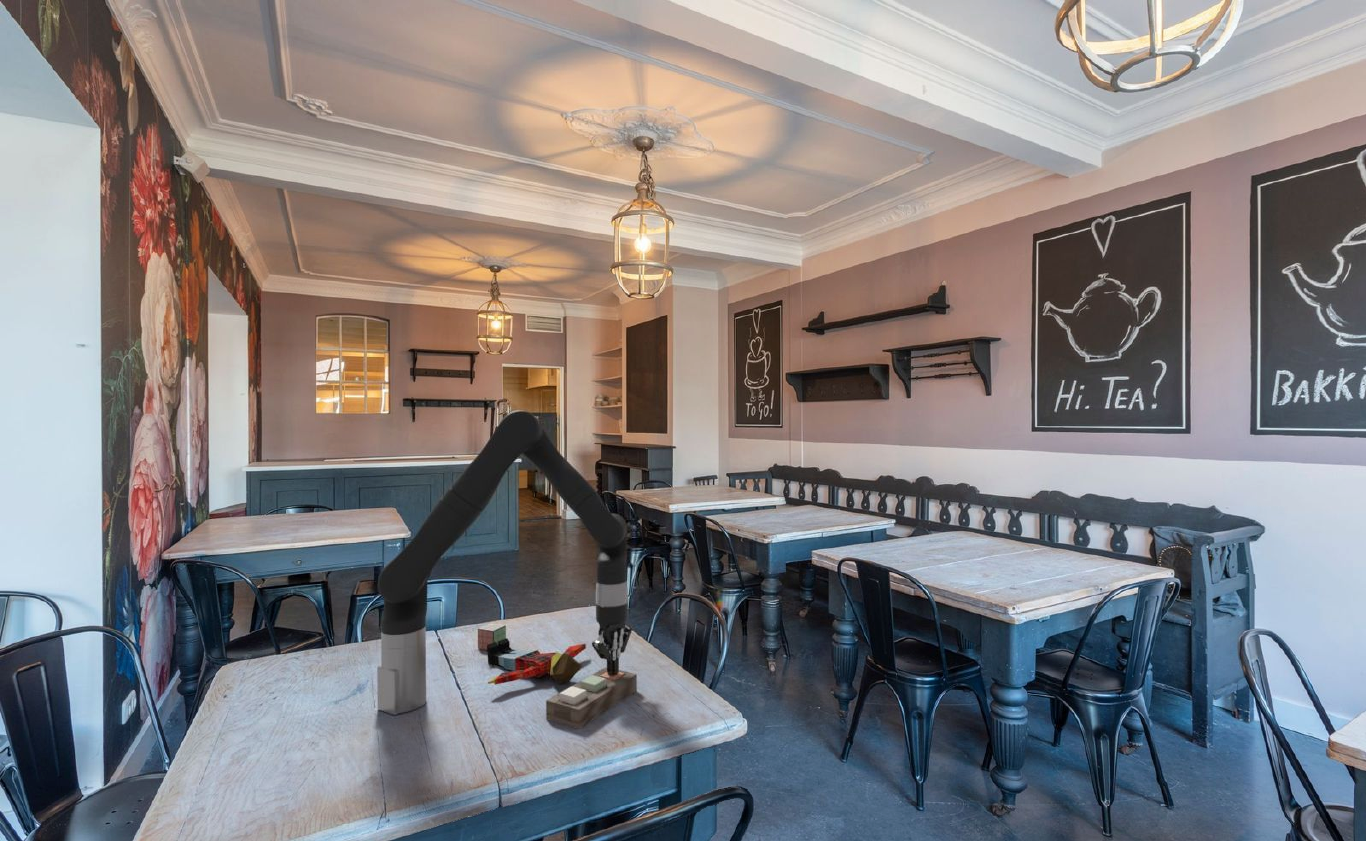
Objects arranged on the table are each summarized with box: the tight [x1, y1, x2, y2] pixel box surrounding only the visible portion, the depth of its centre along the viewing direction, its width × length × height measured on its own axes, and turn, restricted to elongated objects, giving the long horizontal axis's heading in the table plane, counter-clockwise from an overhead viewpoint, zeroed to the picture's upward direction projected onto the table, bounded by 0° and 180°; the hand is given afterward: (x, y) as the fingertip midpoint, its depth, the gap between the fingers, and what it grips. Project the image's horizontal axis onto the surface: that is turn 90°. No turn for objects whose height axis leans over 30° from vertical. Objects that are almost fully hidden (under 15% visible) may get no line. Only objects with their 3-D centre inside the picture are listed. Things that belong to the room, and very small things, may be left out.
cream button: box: [559, 685, 586, 705], centre depth 135 cm, size 4×4×3 cm
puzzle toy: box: [477, 623, 507, 651], centre depth 179 cm, size 6×6×6 cm
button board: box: [545, 666, 638, 730], centre depth 141 cm, size 21×9×4 cm, turn 150°
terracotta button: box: [600, 672, 624, 681], centre depth 147 cm, size 4×4×3 cm
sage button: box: [580, 674, 606, 692], centre depth 141 cm, size 4×4×3 cm
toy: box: [486, 637, 587, 685], centre depth 160 cm, size 31×8×30 cm
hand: (612, 674), depth 147 cm, fingers closed
